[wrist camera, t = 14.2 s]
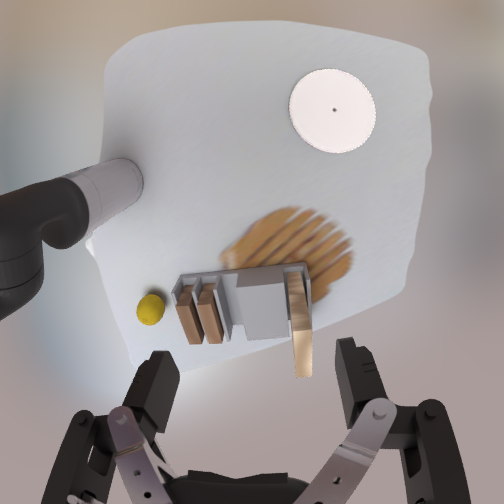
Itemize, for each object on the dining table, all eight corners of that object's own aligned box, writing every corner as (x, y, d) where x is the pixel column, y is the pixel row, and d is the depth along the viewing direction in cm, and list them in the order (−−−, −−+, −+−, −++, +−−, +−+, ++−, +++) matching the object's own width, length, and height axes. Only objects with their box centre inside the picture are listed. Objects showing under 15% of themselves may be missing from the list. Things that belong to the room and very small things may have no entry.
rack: (195, 322, 57) (189, 343, 52) (180, 275, 53) (170, 293, 47) (308, 313, 55) (312, 334, 49) (305, 261, 50) (310, 279, 44)
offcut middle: (214, 320, 55) (209, 343, 49) (204, 283, 51) (196, 305, 45) (226, 319, 55) (222, 343, 48) (217, 282, 51) (210, 304, 45)
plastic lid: (307, 58, 35) (309, 54, 33) (381, 96, 37) (387, 95, 34) (274, 130, 41) (275, 130, 39) (351, 166, 42) (355, 168, 40)
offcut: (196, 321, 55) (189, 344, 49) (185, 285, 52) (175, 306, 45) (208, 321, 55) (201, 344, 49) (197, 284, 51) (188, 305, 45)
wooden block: (290, 315, 54) (295, 377, 39) (286, 272, 49) (293, 331, 35) (302, 314, 53) (311, 375, 39) (300, 271, 49) (311, 329, 35)
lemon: (161, 284, 54) (148, 307, 47) (173, 306, 56) (162, 330, 49) (140, 290, 55) (125, 312, 48) (152, 310, 57) (140, 334, 50)
